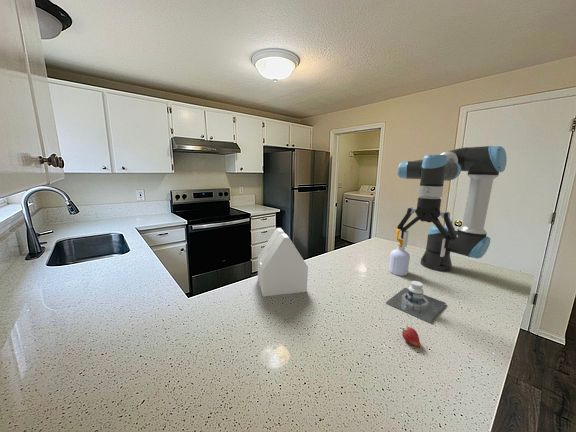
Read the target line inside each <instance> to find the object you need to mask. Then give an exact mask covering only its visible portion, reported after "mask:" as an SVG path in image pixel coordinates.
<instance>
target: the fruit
mask: <svg viewBox="0 0 576 432" xmlns="http://www.w3.org/2000/svg"><path fill="white" fill-rule="evenodd" d="M401 332H402V337H403V339H404V341H405V343H408V344H410V345H411V346H413V347H416V348H419V347H421V346H422V345H421V342H420V336H419V334H418V332H417V331H416V329H414V328H413V327H410V326H406V327H405V328H403V329H402V331H401Z"/></svg>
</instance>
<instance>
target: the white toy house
mask: <svg viewBox="0 0 576 432" xmlns="http://www.w3.org/2000/svg"><path fill="white" fill-rule="evenodd" d="M308 271H309V266H308V264H307V263H306V262H305V260H304V259H303V256H302V255H301V254H300V252H299V251H298V249H297V248H296V246H295V244H294V243H293V241H292V240H291V238H290V237H289V236H288V234H287V233H285V231H284V230H283V229H282V227H276V228H275V230H274V232H273V233H272V234H271V236H270V238H269V239H268V241H267V242H266V244H265V245H264V247H263V248H262V250H261V251H260V253H259V254H258V256H257V281H258V286H259V289H260V292H261V296H262V297H271V296H278V295H289V294H297V293H306V292H308V277H309V276H308V275H309V273H308Z"/></svg>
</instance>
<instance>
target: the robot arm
mask: <svg viewBox="0 0 576 432" xmlns="http://www.w3.org/2000/svg"><path fill="white" fill-rule="evenodd" d="M506 167H507V152H506V149H505V148H504V147H503V146H499V145H486V146H473V147H472V146H469V147H468V146H467V147H459V148H456V149H452V150H447V151H444V152H442V153H440V154H426V155H424V156H423V158H422V159H417V160H405V161H401V162H400V163H399V164H398V166H397V175H398V177H399V178H400V179H406V180H410V179H411V180H419V181H420V183H419V187H418V196H419V197H418V198H417V204H416V208H413V207H409V208H407V210H406V214H405V215H404V216H403V218H402V219H401V221H400V223H399V224H398V225H397V227H396V229H397V228H398V229H400V230H401V231H400V233H401V234H400V239H403V245H402V247H403V248H404V247H405V248H407V246H408V242H407V241H408V240H409V239H408V238H409V230H408V229H410V228H411V227H412V226H414V225H415V224H416V223H417V222H419V221H420V222H426V223H433V226H430V227H429V229H428V233H427V237H426V238H427V239H426V246H425V251H424V252H423V254H422V257H421V258H420V263H419V264H420V265H421V266H423V267H424V268H428V269H430V270H434V271H437V272H449V271H452V269H453V264H452V259H451V258H452V257H451V253H454V254H456V255H457V254H458V255H462V256H465V257H468V258H472V259H473V258H474V259H480V258H483V257H484V255H485V254H486V253H487V251H488V249H489V248H490V247H489V246H490V244H491V237H489V236H487V234H488V232H487V231H486V229H485V223H486V218H487V214H488V209H489V203H490V199H491V193H492V189H493V184H494V179H496V178H499V176H500V173H503V172H504V171H505V170H506ZM461 172H467V177H469V180H470V181H469V186H468V191H467V197H466V202H465V209H464V214H463V219H462V225H461V226H459V227H457V230H456V229H455V227H454V226H453V223H452V220H451V218H450V217H451V213H450V212H449V211H446V212H443V211H441V203H442V199H441V198H442V197H443V190H444V183H445V181H446V182H447V181H453V180H456V179H457V178H458V177H459V176H460V175H461ZM414 213H415V214H416V216H415V217H414V218H413V219H412V220H410V221H409V219H410V218H411V216H412V215H413V214H414ZM439 217H441V218H442V219H443V222H444V224H445V225H443V223H441V221H440V219H439ZM408 221H409V223H407V222H408ZM406 223H407V224H406Z"/></svg>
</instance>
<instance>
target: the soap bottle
mask: <svg viewBox="0 0 576 432" xmlns="http://www.w3.org/2000/svg"><path fill="white" fill-rule="evenodd" d="M400 232H402V231H401V230H400V229H398V228H397V227H396V230H395V239H396V240H397V241H398V243H399V244H397V248H396V249H393V250H392V251H391V252H390V255H389V263H388V264H389V266H388V272H390V273H391V274H393V275H395V276H401V277H402V276H407V275H408V274H409V266H410V260H411V255H410V253H409V252H408V251H407V250H405V248H406V247H404V248H403V247H402V245H403V239H401V238H399V234H400ZM408 242H409V241H408V240H407V243H408Z"/></svg>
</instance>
